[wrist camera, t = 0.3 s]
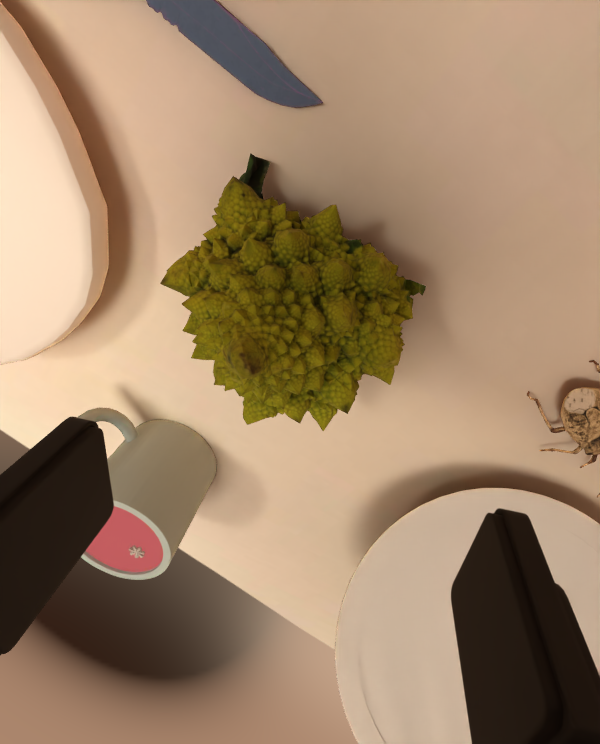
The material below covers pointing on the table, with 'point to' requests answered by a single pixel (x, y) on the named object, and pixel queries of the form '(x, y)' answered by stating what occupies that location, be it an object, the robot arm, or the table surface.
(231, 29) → the knife
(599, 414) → the insect
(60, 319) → the plate
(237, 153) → the table surface
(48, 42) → the table surface
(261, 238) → the vegetable
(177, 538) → the mug
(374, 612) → the shallow bowl
